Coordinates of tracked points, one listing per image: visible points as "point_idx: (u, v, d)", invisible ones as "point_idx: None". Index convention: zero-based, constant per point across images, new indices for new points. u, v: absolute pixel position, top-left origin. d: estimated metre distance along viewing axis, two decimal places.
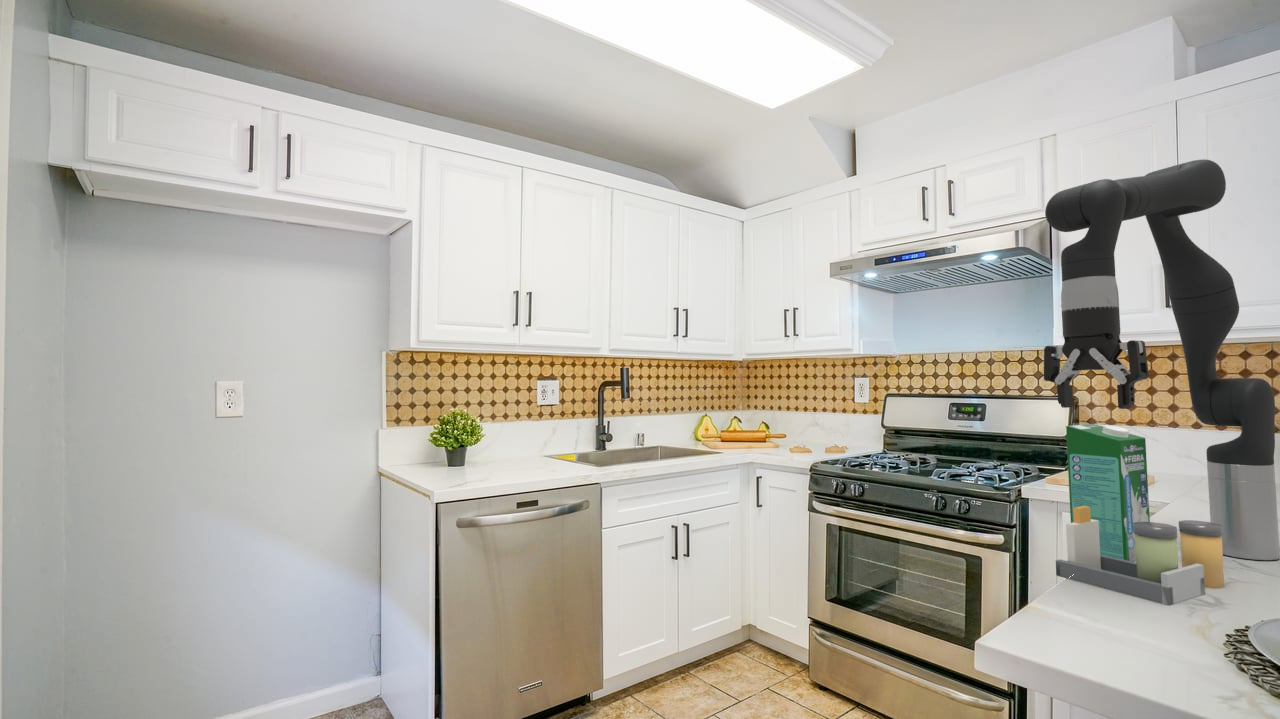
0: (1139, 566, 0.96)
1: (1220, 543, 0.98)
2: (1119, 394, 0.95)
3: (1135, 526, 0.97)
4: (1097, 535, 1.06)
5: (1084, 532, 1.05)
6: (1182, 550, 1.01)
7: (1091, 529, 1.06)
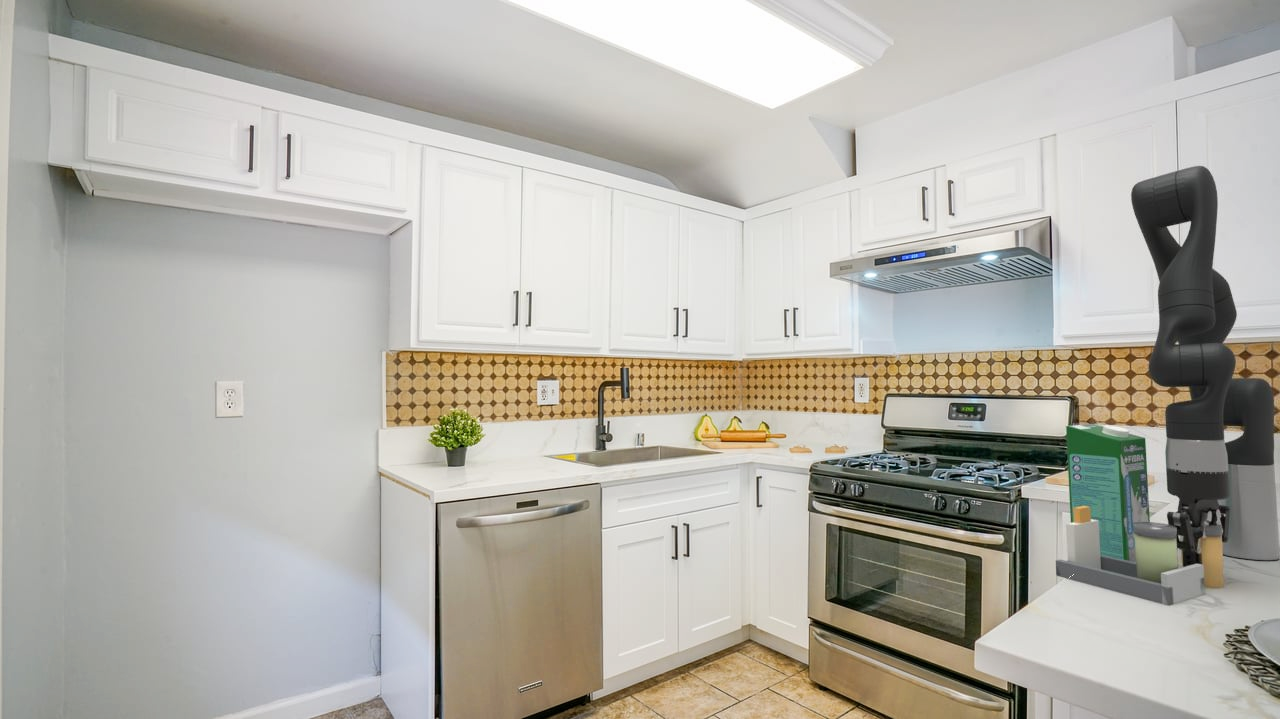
0: (1139, 566, 0.96)
1: (1220, 543, 0.98)
2: None
3: (1135, 526, 0.97)
4: (1097, 535, 1.06)
5: (1084, 532, 1.05)
6: None
7: (1091, 529, 1.06)
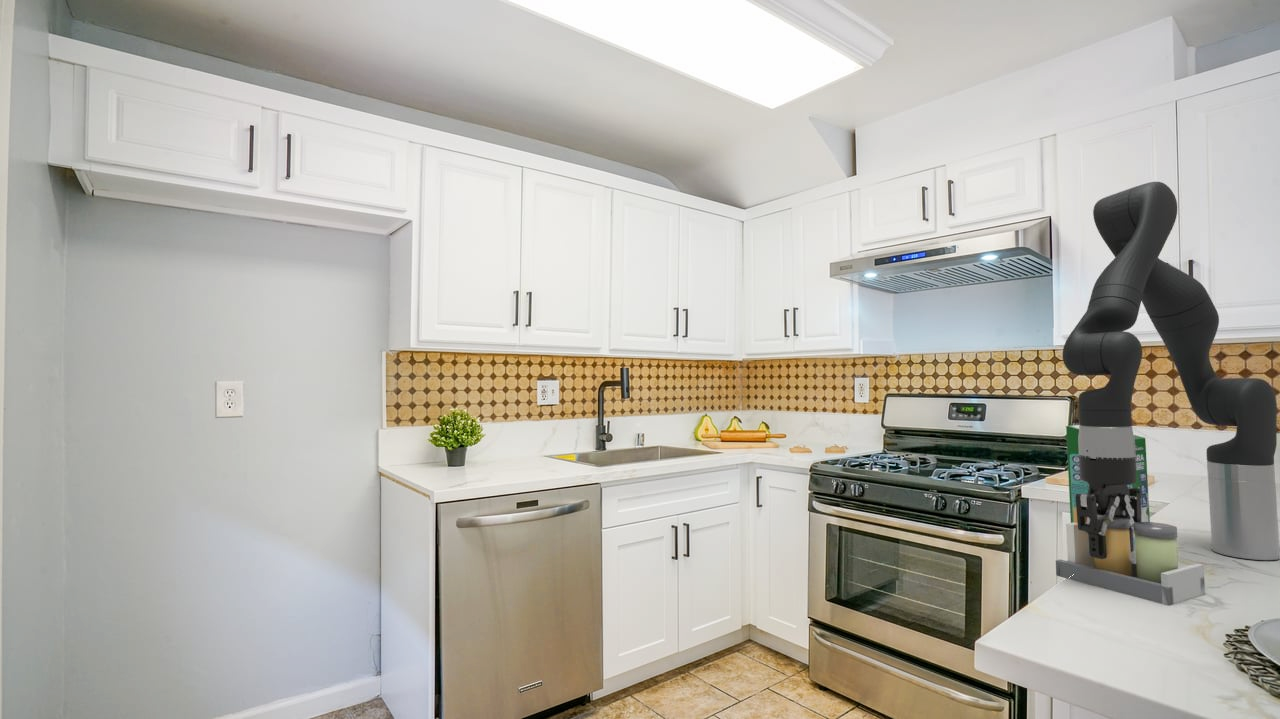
0: (1139, 566, 0.96)
1: (1127, 536, 1.00)
2: (1131, 539, 1.02)
3: (1135, 526, 0.97)
4: None
5: (1084, 532, 1.05)
6: None
7: None
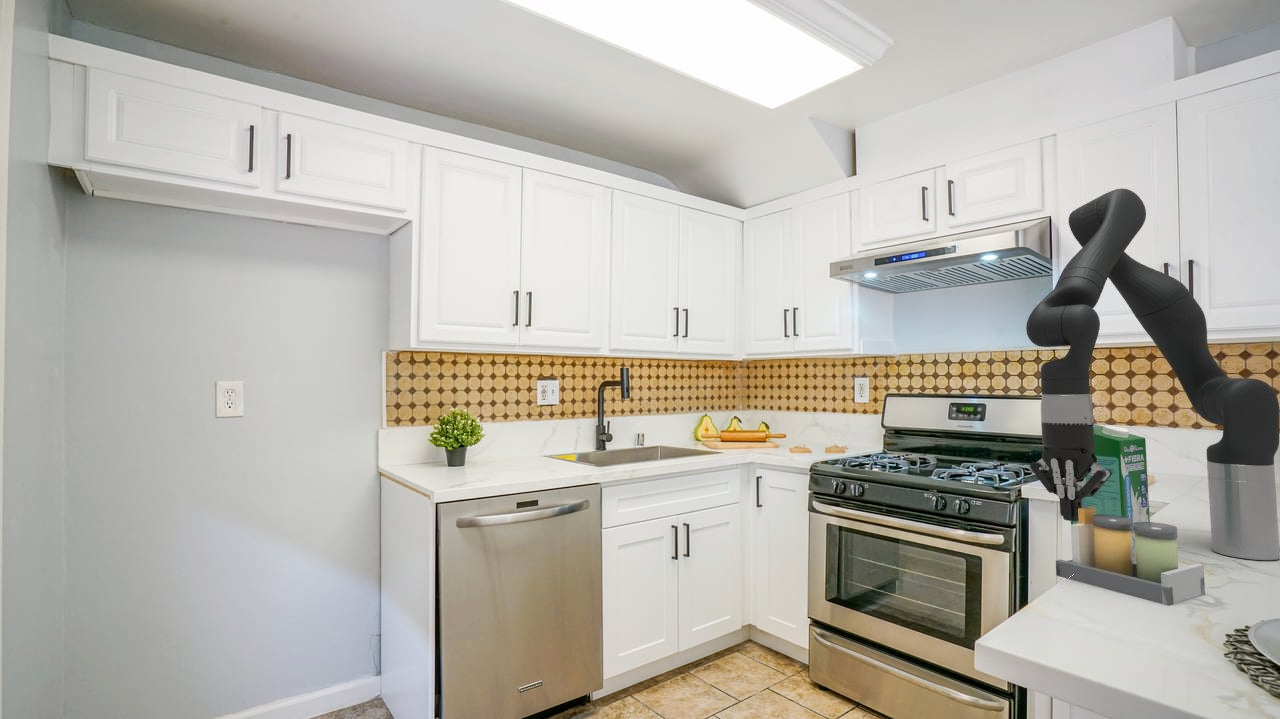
0: (1139, 566, 0.96)
1: (1130, 537, 0.99)
2: None
3: (1135, 526, 0.97)
4: None
5: (1089, 533, 1.04)
6: (1095, 543, 1.02)
7: None
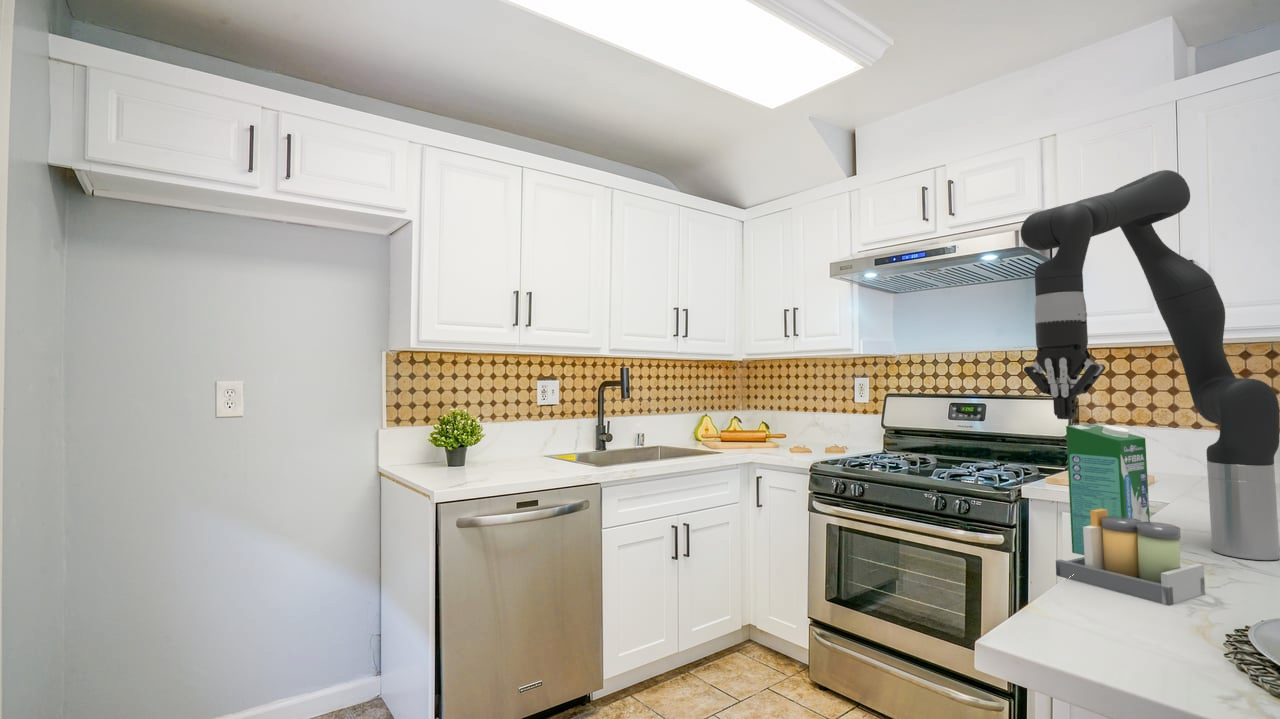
0: (1141, 566, 0.96)
1: None
2: None
3: (1138, 526, 0.96)
4: None
5: (1102, 535, 1.02)
6: (1104, 546, 1.01)
7: None
